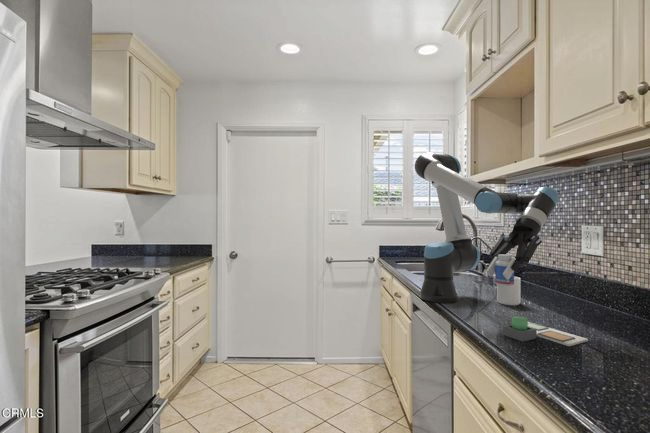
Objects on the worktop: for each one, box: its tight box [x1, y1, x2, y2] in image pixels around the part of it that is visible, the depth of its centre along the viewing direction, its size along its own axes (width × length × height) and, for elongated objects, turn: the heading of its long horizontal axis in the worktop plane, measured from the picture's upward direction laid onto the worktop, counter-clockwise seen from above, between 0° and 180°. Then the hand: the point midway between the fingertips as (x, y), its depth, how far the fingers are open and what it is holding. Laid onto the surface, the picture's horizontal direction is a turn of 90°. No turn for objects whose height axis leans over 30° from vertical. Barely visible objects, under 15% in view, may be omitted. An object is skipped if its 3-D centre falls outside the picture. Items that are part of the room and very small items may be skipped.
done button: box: [511, 315, 529, 331], centre depth 99 cm, size 4×4×4 cm
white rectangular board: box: [528, 321, 589, 347], centre depth 101 cm, size 17×9×1 cm, turn 26°
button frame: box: [502, 323, 537, 342], centre depth 99 cm, size 6×6×3 cm
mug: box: [496, 275, 522, 306], centre depth 139 cm, size 12×8×10 cm
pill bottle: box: [494, 254, 515, 286], centre depth 112 cm, size 6×5×10 cm
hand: (497, 275), depth 110 cm, fingers closed on pill bottle, 5 cm apart
